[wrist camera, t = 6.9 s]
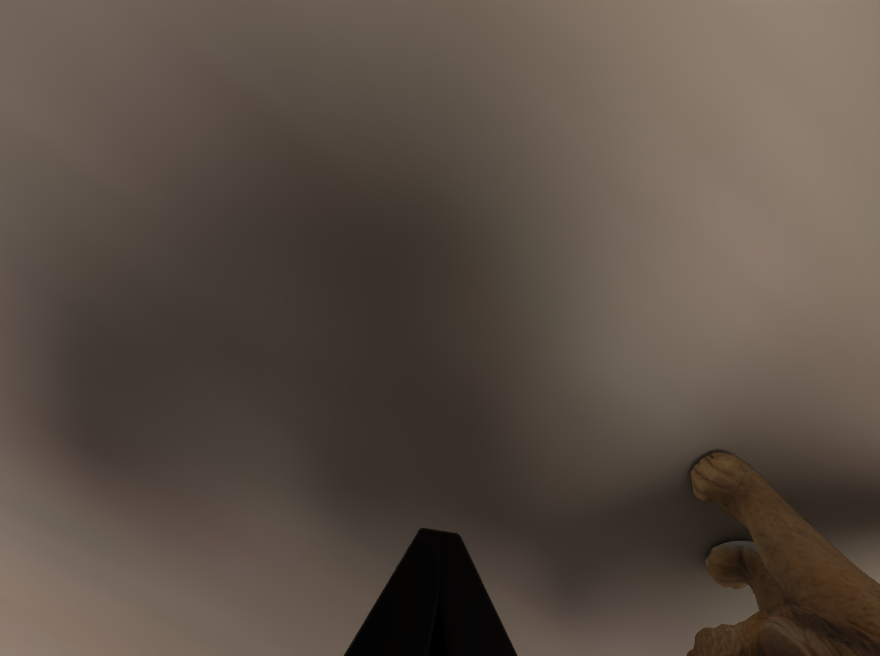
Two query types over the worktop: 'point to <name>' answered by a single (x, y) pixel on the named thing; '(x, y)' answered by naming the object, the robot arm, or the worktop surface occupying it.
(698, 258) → the worktop surface
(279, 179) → the worktop surface
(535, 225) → the worktop surface
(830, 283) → the worktop surface
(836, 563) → the lion figurine
